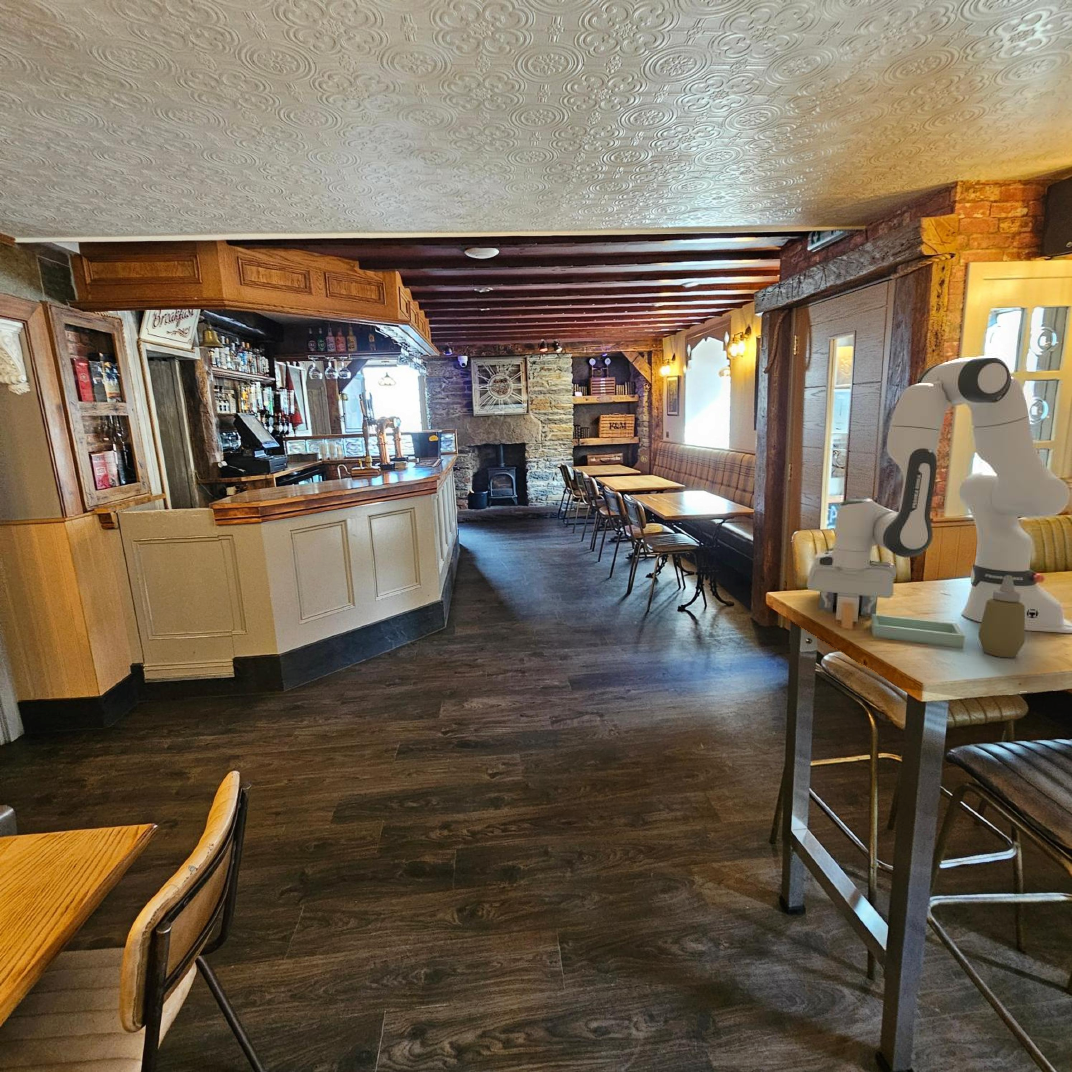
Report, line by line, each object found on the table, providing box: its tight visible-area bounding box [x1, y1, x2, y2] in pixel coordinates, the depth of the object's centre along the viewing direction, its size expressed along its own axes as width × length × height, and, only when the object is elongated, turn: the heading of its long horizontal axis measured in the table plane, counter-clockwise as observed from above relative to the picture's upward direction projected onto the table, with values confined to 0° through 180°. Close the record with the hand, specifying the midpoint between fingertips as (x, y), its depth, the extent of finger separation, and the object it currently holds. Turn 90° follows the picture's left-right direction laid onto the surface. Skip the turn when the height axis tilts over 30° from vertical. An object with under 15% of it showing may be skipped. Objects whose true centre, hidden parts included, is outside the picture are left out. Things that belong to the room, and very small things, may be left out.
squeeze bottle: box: [978, 575, 1026, 659], centre depth 126 cm, size 8×8×18 cm
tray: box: [870, 613, 965, 649], centre depth 139 cm, size 18×10×3 cm, turn 62°
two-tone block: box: [835, 593, 860, 630], centre depth 151 cm, size 5×13×6 cm, turn 152°
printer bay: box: [818, 591, 878, 617], centre depth 162 cm, size 14×13×12 cm
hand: (846, 609), depth 152 cm, fingers open, 8 cm apart
